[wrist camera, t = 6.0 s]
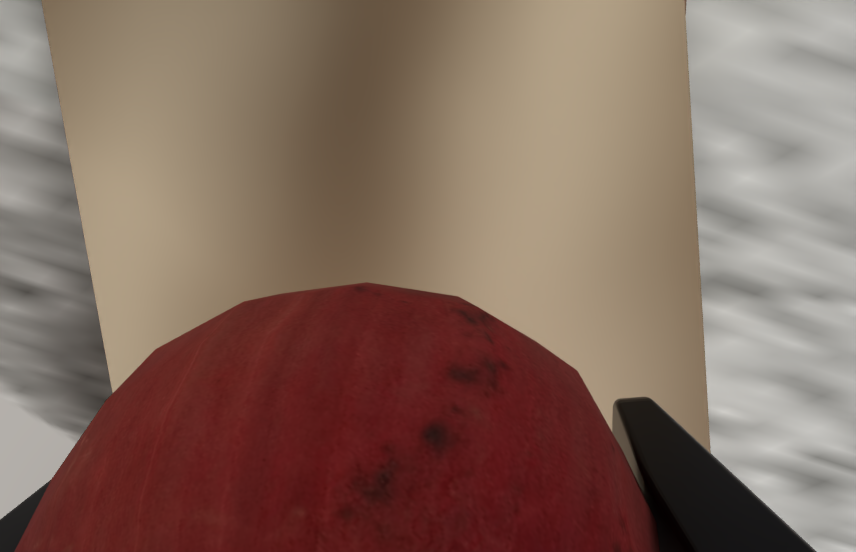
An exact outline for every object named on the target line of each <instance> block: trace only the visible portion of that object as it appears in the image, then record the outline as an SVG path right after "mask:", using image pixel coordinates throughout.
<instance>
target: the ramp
mask: <svg viewBox="0 0 856 552" xmlns="http://www.w3.org/2000/svg"><path fill="white" fill-rule="evenodd" d="M41 1H42V6H43V12H44V18H45V23H46V29H47V34H48V40H49V45H50V51H51V56H52V62H53V67H54V73H55V78H56V84H57V89H58V95H59V100H60V106H61V111H62V117H63V122H64V128H65V133H66V139H67V144H68V150H69V155H70V161H71V167H72V172H73V178H74V183H75V189H76V194H77V200H78V205H79V211H80V216H81V222H82V227H83V233H84V238H85V244H86V249H87V255H88V260H89V266H90V271H91V277H92V282H93V288H94V293H95V299H96V304H97V310H98V315H99V321H100V327H101V332H102V338H103V343H104V349H105V354H106V360H107V365H108V371H109V376H110V382H111V387H112V393H114V392H115V391H116V390H117V389H118V388H119V386H120V385H121V384H122V383H123V382H124V381H125V380H126V379H127V378H128V377H129V376H130V375H131V374H132V373H133V372H134V371H135V370H136V369H137V368H138V367H139V366H140V365H141V364H142V363H143V362H144V360H145V359H146V358H147V357H148V356H149V355H150V354H151V353H152V352H153V351H154V350H155V349H157V348H159V347H160V346H162V345H164V344H166V343H168V342H170V341H171V340H173V339H175V338H177V337H179V336H181V335H183V334H184V333H186V332H188V331H190V330H192V329H194V328H195V327H197V326H199V325H201V324H203V323H205V322H207V321H208V320H210V319H212V318H214V317H216V316H218V315H219V314H221V313H223V312H225V311H227V310H229V309H231V308H232V307H234V306H236V305H238V304H240V303H242V302H244V301H248V300H253V299H258V298H263V297H267V296H272V295H277V294H282V293H289V292H297V291H304V290H312V289H320V288H327V287H335V286H342V285H350V284H358V283H365V282H369V283H375V284H382V285H388V286H395V287H401V288H408V289H414V290H421V291H427V292H434V293H440V294H447V295H453V296H459V297H460V298H462V299H464V300H466V301H468V302H470V303H471V304H473V305H475V306H477V307H479V308H481V309H482V310H484V311H486V312H487V313H489V314H491V315H492V316H494V317H496V318H497V319H499V320H501V321H503V322H504V323H506V324H508V325H509V326H511V327H513V328H514V329H516V330H518V331H519V332H521V333H523V334H525V335H526V336H528V337H530V338H531V339H533V340H535V341H536V342H538V343H539V344H541V345H542V346H543V347H545V348H546V349H548V350H549V351H550V352H552V353H553V354H555V355H556V356H557V357H559V358H560V359H562V360H563V361H565V362H566V363H567V364H569V365H570V366H572V367H573V368H574V369H576V370H577V371H578V372H579V374H580V376H581V378H582V379H583V381H584V383H585V385H586V387H587V388H588V390H589V392H590V394H591V395H592V397H593V399H594V401H595V403H596V404H597V406H598V408H599V410H600V411H601V413H602V415H603V417H604V419H605V420H606V422H607V424H608V426H609V427H610V429H611V431H612V416H613V404H614V402H615V401H616V400H617V399H620V398H632V397H649V398H651V399H652V400H654V401H655V402H656V403H657V404H658V405H659V406H660V407H661V408H662V409H663V410H664V411H666V412H667V413H668V414H669V415H670V416H671V417H672V418H673V419H674V420H675V421H676V422H677V423H678V424H680V425H681V426H682V427H683V428H684V429H685V430H686V431H687V432H688V433H689V434H690V435H691V436H692V437H694V438H695V439H696V440H697V441H698V442H699V443H700V444H701V445H702V446H703V447H704V448H705V449H706V450H708V451H709V452H710V436H709V419H708V401H707V384H706V366H705V349H704V332H703V314H702V297H701V279H700V262H699V245H698V227H697V210H696V192H695V175H694V158H693V140H692V123H691V105H690V88H689V71H688V53H687V36H686V18H685V1H684V0H41Z"/></svg>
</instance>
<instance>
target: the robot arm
mask: <svg viewBox="0 0 856 552" xmlns="http://www.w3.org/2000/svg"><path fill="white" fill-rule="evenodd" d="M612 433H613V435H614V436H615V438H616V440H617V442H618V443H619V445H620V447H621V449H622V451H623V452H624V455H625V457H626V459H627V461H628V463H629V465H630V467H631V469H632V471H633V474H634V476H635V478H636V480H637V482H638V484H639V486H640V488H641V490H642V493H643V495H644V497H645V499H646V501H647V503H648V505H649V507H650V510H651V512H652V514H653V516H654V518H655V520H656V523H657V531H658V540H659V548H660V552H816V551H815V550H814V549H813V548H812V547H811V546H810V545H809V544H808V543H807V542H806V541H804V540H803V539H802V538H801V537H800V536H799V535H798V534H797V533H796V532H795V531H794V530H793V529H792V528H790V527H789V526H788V525H787V524H786V523H785V522H784V521H783V520H782V519H781V518H780V517H779V516H778V515H776V514H775V513H774V512H773V511H772V510H771V509H770V508H769V507H768V506H767V505H766V504H765V503H764V502H762V501H761V500H760V499H759V498H758V497H757V496H756V495H755V494H754V493H753V492H752V491H751V490H750V489H748V488H747V487H746V486H745V485H744V484H743V483H742V482H741V481H740V480H739V479H738V478H737V477H736V476H734V475H733V474H732V473H731V472H730V471H729V470H728V469H727V468H726V467H725V466H724V465H723V464H722V463H720V462H719V461H718V460H717V459H716V458H715V457H714V456H713V455H712V454H711V453H710V452H709V451H708V450H706V449H705V448H704V447H703V446H702V445H701V444H700V443H699V442H698V441H697V440H696V439H695V438H694V437H692V436H691V435H690V434H689V433H688V432H687V431H686V430H685V429H684V428H683V427H682V426H681V425H680V424H678V423H677V422H676V421H675V420H674V419H673V418H672V417H671V416H670V415H669V414H668V413H667V412H666V411H664V410H663V409H662V408H661V407H660V406H659V405H658V404H657V403H656V402H655V401H654V400H652V399H651V398H649V397H632V398H620V399H617V400H616V401H615V402H614V404H613V416H612ZM51 480H52V479H51ZM51 480H50V481H49V482H48V483H46V484H45V485H44V486H42V487H41V488H40V489H39V490H37V491H36V492H35V493H34V494H32V495H31V496H30V497H29V498H27V499H26V500H25V501H24V502H22V503H21V504H20V505H18V506H17V507H16V508H14V509H13V510H12V511H11V512H10V513H8V514H7V515H6V516H4V517H3V518H2V519H1V520H0V552H14V551H15V549H16V547H17V545H18V544H19V542H20V540H21V538H22V536H23V534H24V532H25V530H26V528H27V526H28V524H29V522H30V520H31V518H32V516H33V514H34V513H35V511H36V509H37V507H38V505H39V503H40V501H41V499H42V497H43V495H44V493H45V491H46V489H47V487H48V485H49V483H50V482H51Z"/></svg>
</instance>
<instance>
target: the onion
mask: <svg viewBox="0 0 856 552" xmlns="http://www.w3.org/2000/svg"><path fill="white" fill-rule="evenodd" d="M14 552H660V548H659V540H658V531H657V523H656V520H655V518H654V516H653V514H652V512H651V510H650V507H649V505H648V503H647V501H646V499H645V497H644V495H643V493H642V490H641V488H640V486H639V484H638V482H637V480H636V478H635V476H634V474H633V471H632V469H631V467H630V465H629V463H628V461H627V459H626V457H625V455H624V452H623V451H622V449H621V447H620V445H619V443H618V442H617V440H616V438H615V436H614V435H613V433H612V431H611V429H610V427H609V426H608V424H607V422H606V420H605V419H604V417H603V415H602V413H601V411H600V410H599V408H598V406H597V404H596V403H595V401H594V399H593V397H592V395H591V394H590V392H589V390H588V388H587V387H586V385H585V383H584V381H583V379H582V378H581V376H580V374H579V372H578V371H577V370H576V369H574V368H573V367H572V366H570V365H569V364H567V363H566V362H565V361H563V360H562V359H560V358H559V357H557V356H556V355H555V354H553V353H552V352H550V351H549V350H548V349H546V348H545V347H543V346H542V345H541V344H539V343H538V342H536V341H535V340H533V339H531V338H530V337H528V336H526V335H525V334H523V333H521V332H519V331H518V330H516V329H514V328H513V327H511V326H509V325H508V324H506V323H504V322H503V321H501V320H499V319H497V318H496V317H494V316H492V315H491V314H489V313H487V312H486V311H484V310H482V309H481V308H479V307H477V306H475V305H473V304H471V303H470V302H468V301H466V300H464V299H462V298H460V297H459V296H453V295H447V294H440V293H434V292H427V291H421V290H414V289H408V288H401V287H395V286H388V285H382V284H375V283H369V282H365V283H358V284H350V285H342V286H335V287H327V288H320V289H312V290H304V291H297V292H289V293H282V294H277V295H272V296H267V297H263V298H258V299H253V300H248V301H244V302H242V303H240V304H238V305H236V306H234V307H232V308H231V309H229V310H227V311H225V312H223V313H221V314H219V315H218V316H216V317H214V318H212V319H210V320H208V321H207V322H205V323H203V324H201V325H199V326H197V327H195V328H194V329H192V330H190V331H188V332H186V333H184V334H183V335H181V336H179V337H177V338H175V339H173V340H171V341H170V342H168V343H166V344H164V345H162V346H160V347H159V348H157V349H155V350H154V351H153V352H152V353H151V354H150V355H149V356H148V357H147V358H146V359H145V360H144V362H143V363H142V364H141V365H140V366H139V367H138V368H137V369H136V370H135V371H134V372H133V373H132V374H131V375H130V376H129V377H128V378H127V379H126V380H125V381H124V382H123V383H122V384H121V385H120V386H119V388H118V389H117V390H116V391H115V392H114V393H113V394H112V395H111V396H110V397H109V398H108V399H107V400H106V401H105V403H104V404H103V405H102V407H101V408H100V410H99V411H98V413H97V414H96V416H95V417H94V419H93V420H92V421H91V423H90V424H89V426H88V427H87V429H86V430H85V432H84V433H83V434H82V436H81V437H80V439H79V440H78V442H77V443H76V445H75V446H74V448H73V449H72V450H71V452H70V453H69V455H68V456H67V458H66V459H65V461H64V462H63V464H62V465H61V466H60V468H59V469H58V471H57V472H56V474H55V475H54V477H53V478H52V480H51V482H50V483H49V485H48V487H47V489H46V491H45V493H44V495H43V497H42V499H41V501H40V503H39V505H38V507H37V509H36V511H35V513H34V514H33V516H32V518H31V520H30V522H29V524H28V526H27V528H26V530H25V532H24V534H23V536H22V538H21V540H20V542H19V544H18V545H17V547H16V549H15V551H14Z"/></svg>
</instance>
